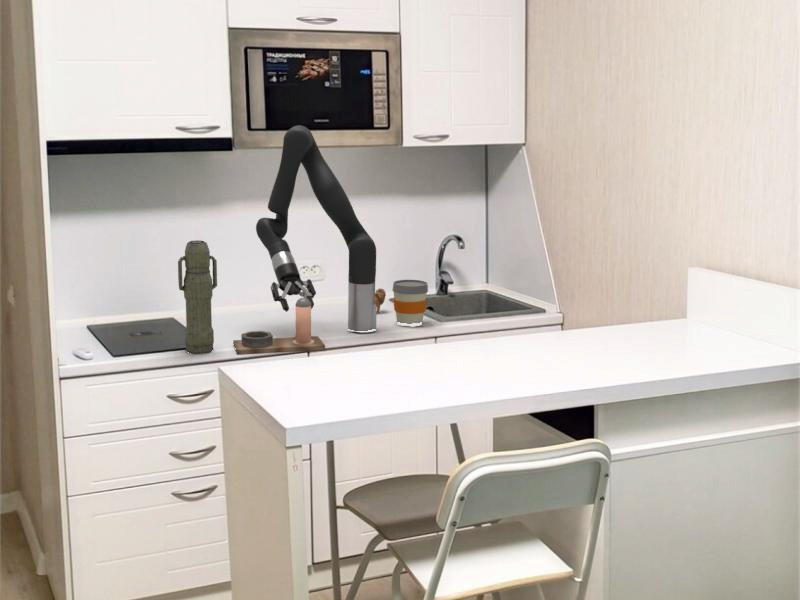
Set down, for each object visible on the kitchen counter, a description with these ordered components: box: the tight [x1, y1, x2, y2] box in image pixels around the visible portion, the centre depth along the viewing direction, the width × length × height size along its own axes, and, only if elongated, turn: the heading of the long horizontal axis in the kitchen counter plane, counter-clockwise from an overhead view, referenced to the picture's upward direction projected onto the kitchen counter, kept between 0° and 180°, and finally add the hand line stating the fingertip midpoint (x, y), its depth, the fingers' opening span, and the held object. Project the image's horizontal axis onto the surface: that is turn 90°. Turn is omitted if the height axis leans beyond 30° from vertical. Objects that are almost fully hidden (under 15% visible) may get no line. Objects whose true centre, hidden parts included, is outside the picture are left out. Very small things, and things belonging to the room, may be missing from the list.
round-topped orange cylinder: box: [295, 297, 312, 344], centre depth 323 cm, size 5×5×14 cm
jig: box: [232, 330, 326, 355], centre depth 323 cm, size 28×12×4 cm, turn 105°
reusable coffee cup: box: [392, 279, 429, 324], centre depth 355 cm, size 13×12×15 cm
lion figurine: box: [375, 287, 387, 314], centre depth 370 cm, size 15×5×9 cm, turn 131°
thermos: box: [177, 239, 218, 355], centre depth 314 cm, size 9×12×35 cm
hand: (299, 309), depth 325 cm, fingers open, 8 cm apart
